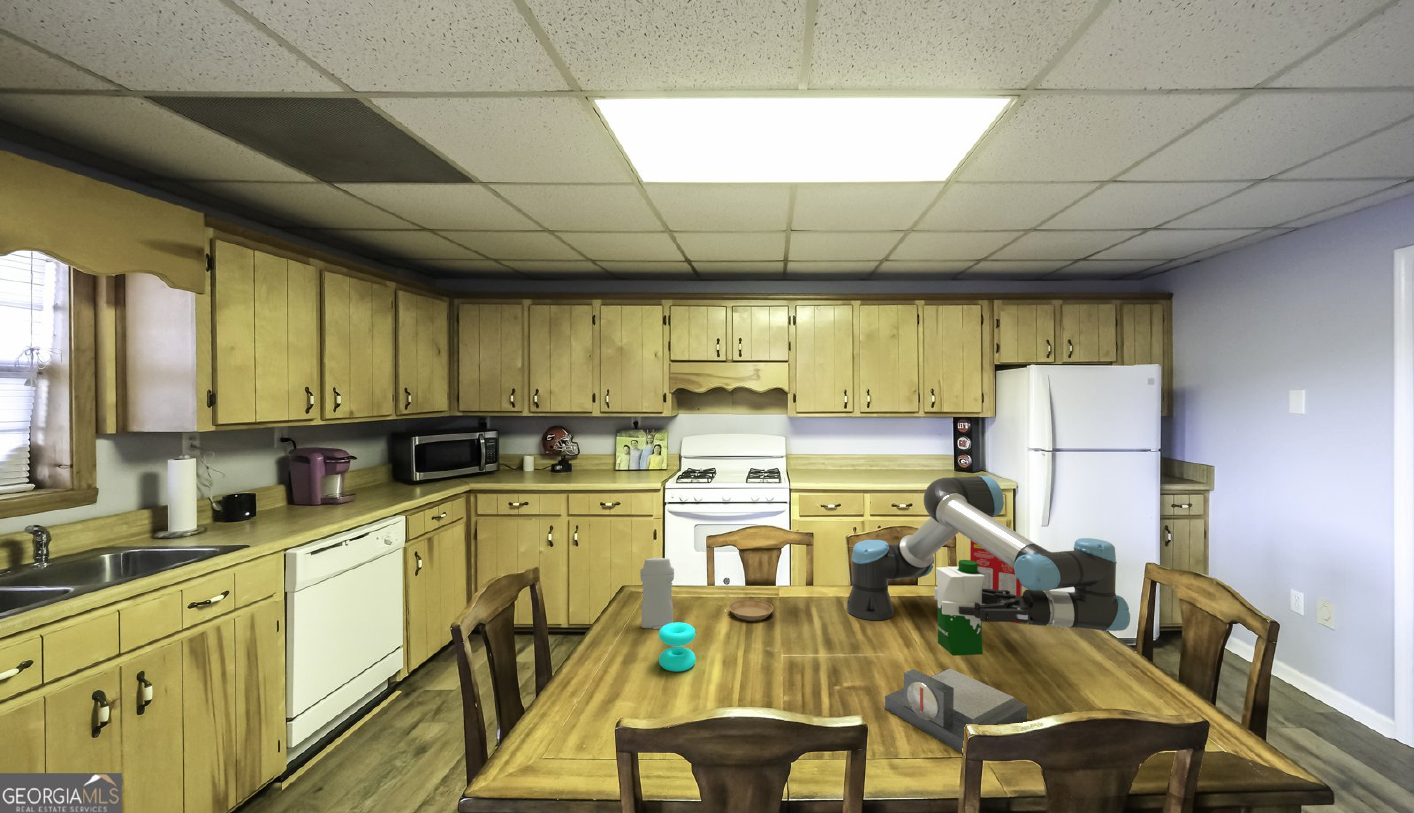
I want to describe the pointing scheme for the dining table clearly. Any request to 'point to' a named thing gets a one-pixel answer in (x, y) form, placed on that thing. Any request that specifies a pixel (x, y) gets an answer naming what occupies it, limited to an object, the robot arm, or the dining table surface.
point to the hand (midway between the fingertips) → (938, 600)
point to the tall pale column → (657, 593)
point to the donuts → (677, 656)
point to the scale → (951, 705)
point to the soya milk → (967, 588)
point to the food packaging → (995, 571)
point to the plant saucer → (751, 609)
